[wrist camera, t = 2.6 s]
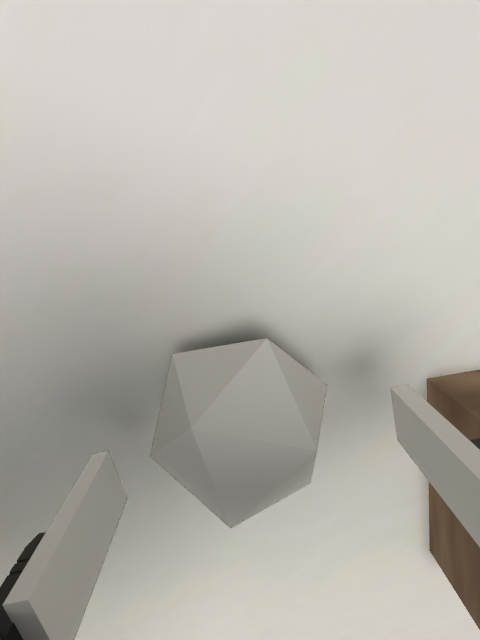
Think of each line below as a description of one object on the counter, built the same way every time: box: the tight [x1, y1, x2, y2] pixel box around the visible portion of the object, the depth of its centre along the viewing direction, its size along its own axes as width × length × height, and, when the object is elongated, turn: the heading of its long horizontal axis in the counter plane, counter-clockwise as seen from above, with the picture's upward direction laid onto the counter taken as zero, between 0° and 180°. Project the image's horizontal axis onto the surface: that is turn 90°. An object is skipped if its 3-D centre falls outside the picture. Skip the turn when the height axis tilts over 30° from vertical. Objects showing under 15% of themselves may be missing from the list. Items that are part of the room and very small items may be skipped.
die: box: [150, 338, 327, 528], centre depth 18 cm, size 8×9×10 cm
